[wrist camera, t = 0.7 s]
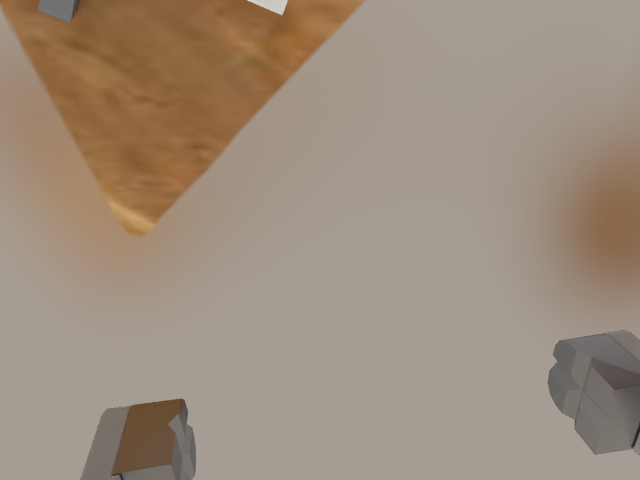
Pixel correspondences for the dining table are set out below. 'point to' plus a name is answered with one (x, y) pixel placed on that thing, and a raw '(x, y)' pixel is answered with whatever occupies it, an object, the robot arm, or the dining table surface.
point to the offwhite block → (272, 5)
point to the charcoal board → (59, 8)
